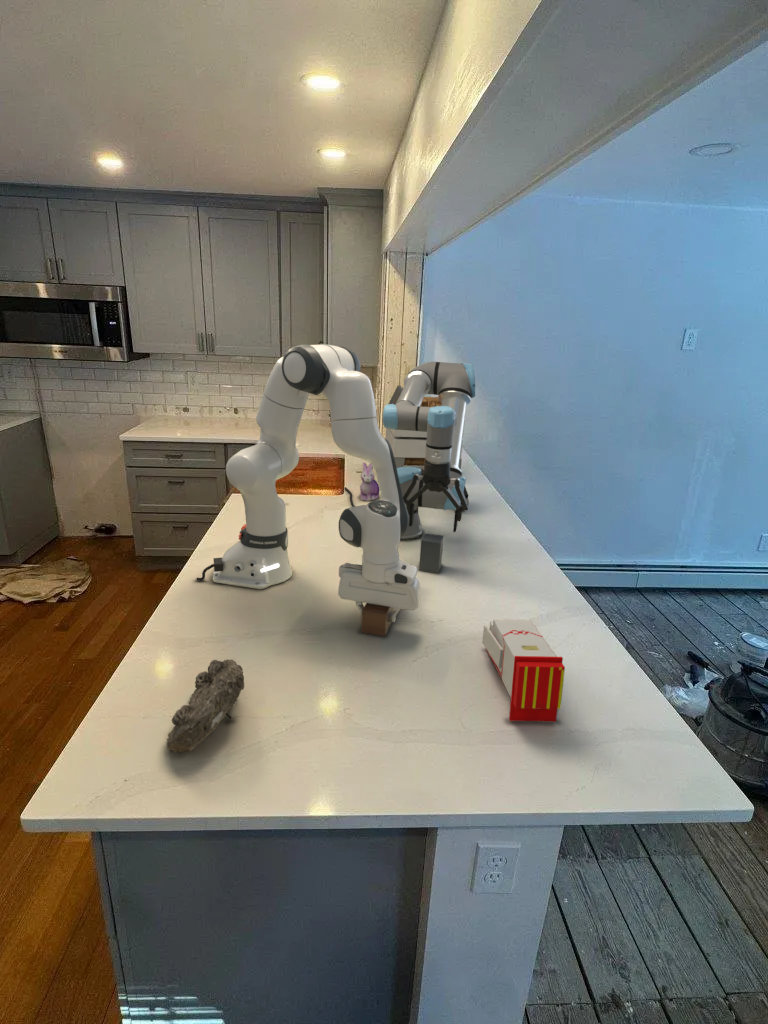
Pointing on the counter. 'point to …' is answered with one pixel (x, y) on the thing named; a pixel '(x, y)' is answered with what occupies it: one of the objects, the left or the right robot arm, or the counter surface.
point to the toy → (526, 669)
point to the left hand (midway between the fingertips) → (377, 618)
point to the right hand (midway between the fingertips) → (432, 527)
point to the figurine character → (466, 495)
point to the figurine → (368, 484)
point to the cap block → (431, 552)
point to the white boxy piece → (411, 438)
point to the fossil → (206, 705)
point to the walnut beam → (376, 619)
